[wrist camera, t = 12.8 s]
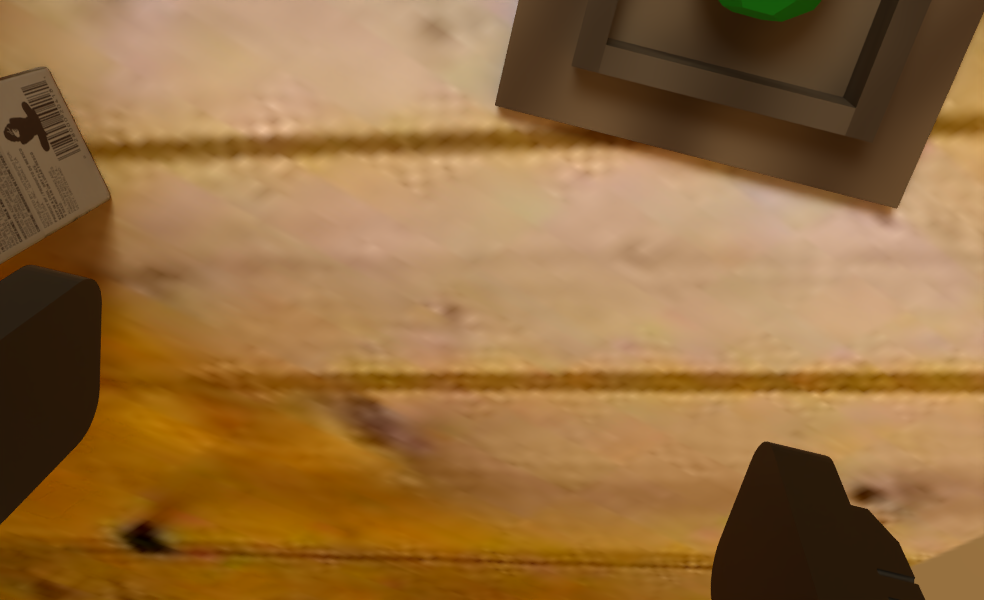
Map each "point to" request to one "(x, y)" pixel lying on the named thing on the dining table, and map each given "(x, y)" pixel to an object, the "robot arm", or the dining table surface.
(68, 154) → the coffee box
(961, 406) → the dining table surface
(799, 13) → the polyhedron
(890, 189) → the tray
